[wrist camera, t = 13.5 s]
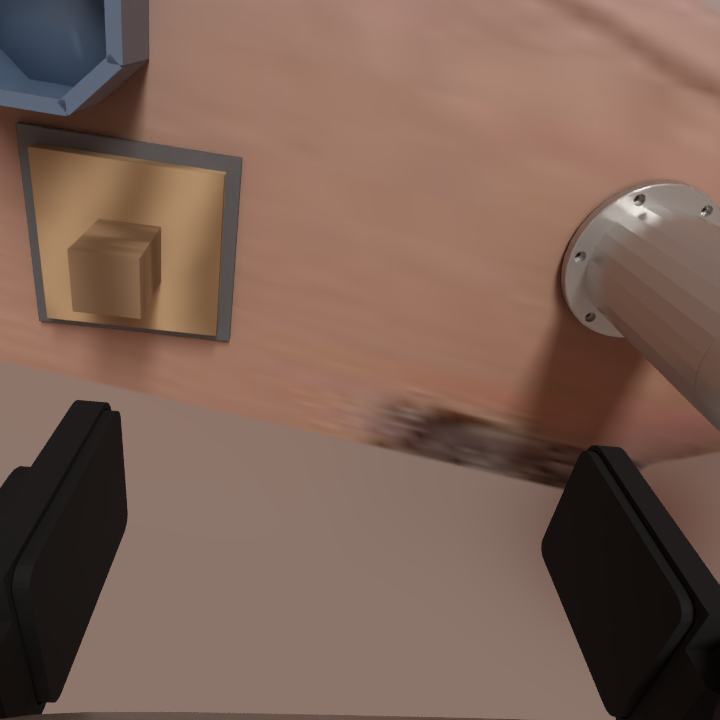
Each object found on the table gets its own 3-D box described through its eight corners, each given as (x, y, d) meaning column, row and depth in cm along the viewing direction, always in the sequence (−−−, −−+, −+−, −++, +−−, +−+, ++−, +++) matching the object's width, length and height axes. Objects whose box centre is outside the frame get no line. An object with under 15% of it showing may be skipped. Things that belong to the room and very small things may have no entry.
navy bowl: (148, -82, 32) (117, -102, 27) (149, 110, 37) (124, 125, 31) (-50, -126, 30) (-123, -156, 25) (-20, 82, 35) (-76, 92, 30)
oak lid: (226, 172, 38) (211, 201, 32) (217, 328, 44) (204, 378, 38) (35, 143, 37) (-20, 168, 30) (53, 310, 42) (11, 360, 36)
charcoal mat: (242, 157, 39) (241, 159, 38) (230, 338, 45) (229, 341, 45) (19, 122, 36) (15, 123, 36) (41, 317, 43) (39, 320, 43)
